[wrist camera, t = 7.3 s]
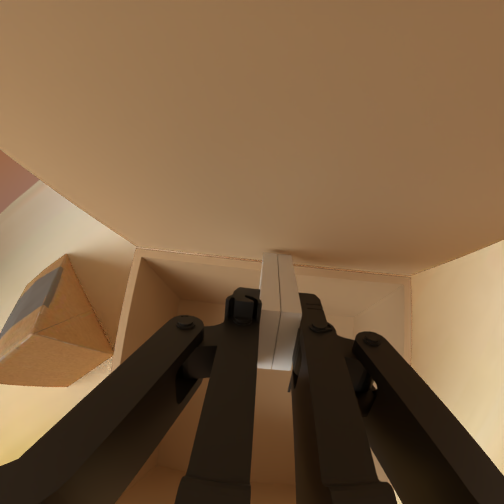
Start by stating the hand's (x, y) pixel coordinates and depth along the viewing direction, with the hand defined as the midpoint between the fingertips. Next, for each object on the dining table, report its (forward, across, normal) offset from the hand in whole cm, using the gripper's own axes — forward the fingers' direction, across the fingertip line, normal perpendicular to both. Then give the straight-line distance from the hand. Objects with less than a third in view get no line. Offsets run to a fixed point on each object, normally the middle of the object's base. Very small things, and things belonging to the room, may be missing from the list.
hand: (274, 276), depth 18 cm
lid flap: (-5, 0, +5) cm, 7 cm away
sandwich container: (+11, -24, -13) cm, 29 cm away
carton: (+7, 0, -16) cm, 18 cm away
